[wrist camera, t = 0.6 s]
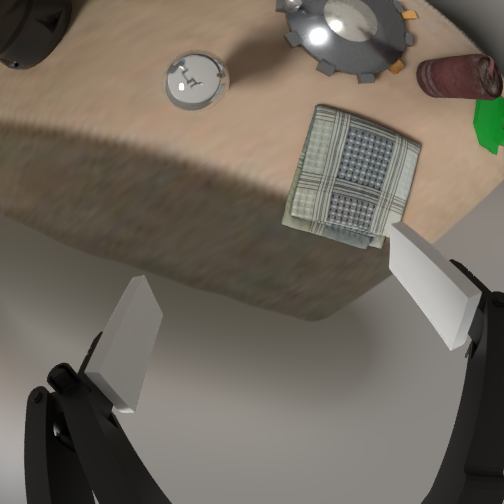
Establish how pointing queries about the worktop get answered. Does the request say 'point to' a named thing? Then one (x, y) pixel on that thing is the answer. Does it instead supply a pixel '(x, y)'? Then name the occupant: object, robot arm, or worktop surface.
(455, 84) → the can
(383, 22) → the sprocket
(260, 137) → the worktop surface
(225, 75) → the light bulb
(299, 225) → the dish towel
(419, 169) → the worktop surface
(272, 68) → the worktop surface
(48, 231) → the worktop surface
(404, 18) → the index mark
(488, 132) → the bracket
